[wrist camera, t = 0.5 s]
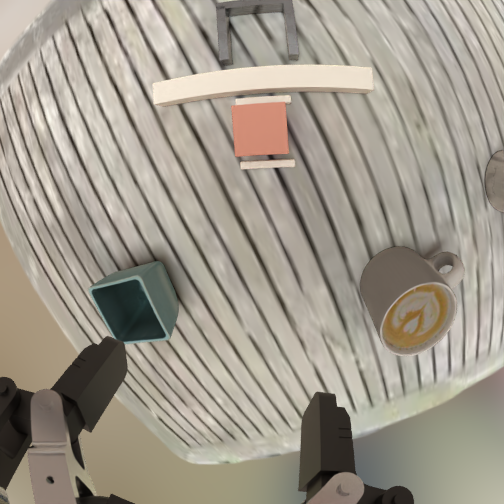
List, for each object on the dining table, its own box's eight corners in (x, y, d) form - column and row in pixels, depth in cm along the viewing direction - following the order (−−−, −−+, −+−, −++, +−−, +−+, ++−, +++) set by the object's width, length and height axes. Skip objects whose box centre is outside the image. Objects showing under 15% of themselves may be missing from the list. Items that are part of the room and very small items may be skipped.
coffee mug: (373, 321, 38) (391, 368, 29) (349, 267, 36) (368, 310, 27) (449, 280, 35) (482, 317, 26) (434, 222, 32) (474, 250, 23)
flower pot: (119, 259, 39) (85, 288, 31) (168, 245, 37) (139, 275, 29) (143, 310, 42) (117, 345, 34) (192, 301, 40) (171, 340, 32)
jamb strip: (364, 73, 27) (371, 67, 24) (369, 165, 31) (377, 168, 28) (162, 87, 29) (152, 83, 27) (170, 174, 34) (160, 178, 31)
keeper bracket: (291, 5, 24) (291, -4, 22) (297, 60, 27) (299, 54, 25) (220, 11, 25) (216, 3, 23) (224, 65, 28) (219, 60, 26)
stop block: (284, 112, 30) (285, 101, 21) (287, 150, 31) (288, 153, 23) (245, 114, 30) (231, 105, 22) (247, 152, 32) (235, 156, 24)
